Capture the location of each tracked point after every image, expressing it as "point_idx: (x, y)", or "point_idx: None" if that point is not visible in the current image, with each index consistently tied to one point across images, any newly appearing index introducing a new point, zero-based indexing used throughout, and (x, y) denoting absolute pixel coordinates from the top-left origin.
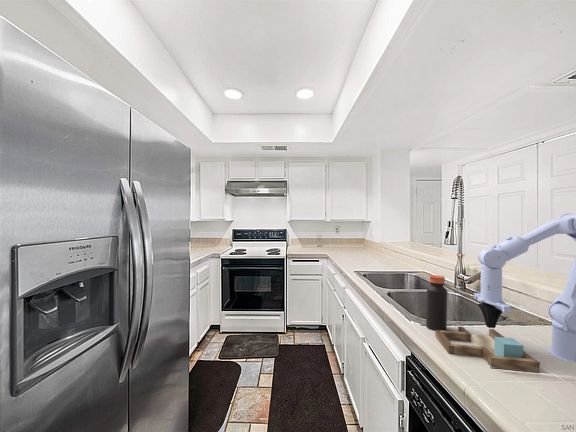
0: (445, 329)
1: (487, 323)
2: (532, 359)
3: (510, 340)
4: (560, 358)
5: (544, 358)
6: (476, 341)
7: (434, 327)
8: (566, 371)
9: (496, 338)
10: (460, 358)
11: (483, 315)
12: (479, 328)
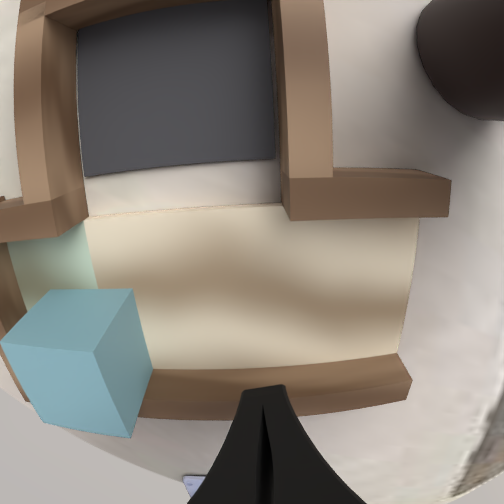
0: (448, 92)
1: (249, 412)
2: None
3: (80, 409)
4: (196, 480)
5: (193, 450)
6: (295, 246)
7: (434, 6)
8: (112, 449)
9: (71, 349)
10: None
11: (313, 457)
12: (489, 333)
